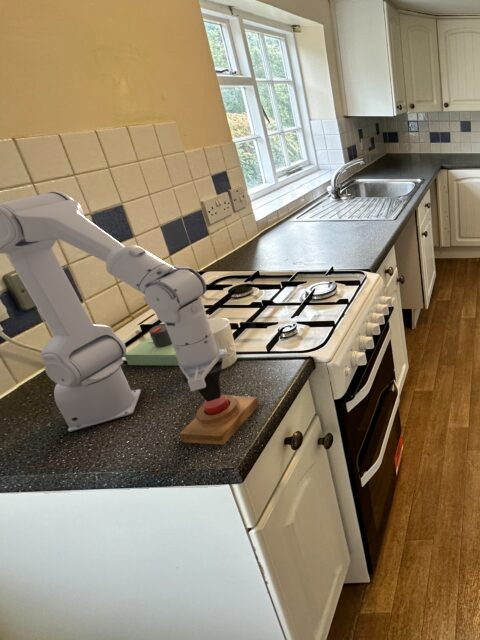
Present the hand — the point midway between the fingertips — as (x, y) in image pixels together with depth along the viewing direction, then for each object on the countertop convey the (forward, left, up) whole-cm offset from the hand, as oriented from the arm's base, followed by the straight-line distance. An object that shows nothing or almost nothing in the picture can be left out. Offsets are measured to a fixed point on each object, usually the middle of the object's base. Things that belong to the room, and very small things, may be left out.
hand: (214, 397), depth 77 cm
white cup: (-2, +23, -6) cm, 24 cm away
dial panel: (-13, +34, -6) cm, 36 cm away
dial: (-13, +34, -3) cm, 36 cm away
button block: (0, 0, -6) cm, 6 cm away
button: (0, 0, -3) cm, 3 cm away
